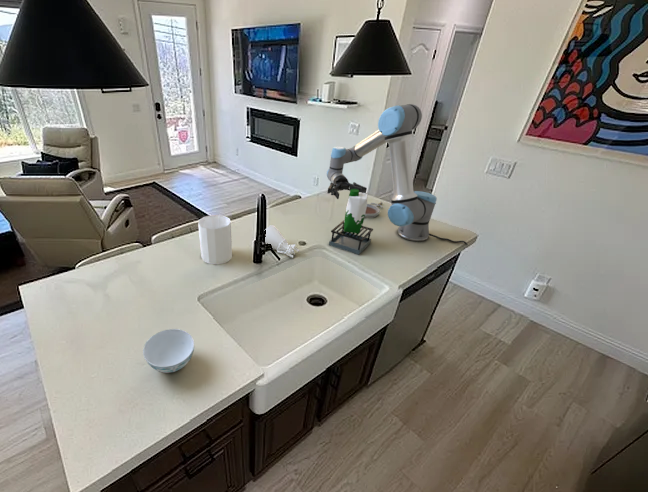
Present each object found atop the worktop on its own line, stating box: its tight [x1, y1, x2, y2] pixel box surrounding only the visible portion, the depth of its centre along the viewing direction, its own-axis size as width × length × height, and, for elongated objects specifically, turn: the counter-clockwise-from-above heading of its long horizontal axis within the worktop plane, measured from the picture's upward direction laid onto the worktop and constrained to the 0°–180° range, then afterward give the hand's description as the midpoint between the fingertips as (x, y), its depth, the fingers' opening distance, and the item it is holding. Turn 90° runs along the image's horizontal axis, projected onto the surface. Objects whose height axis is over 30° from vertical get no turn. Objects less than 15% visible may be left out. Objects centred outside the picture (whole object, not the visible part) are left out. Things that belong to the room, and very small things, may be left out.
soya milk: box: [343, 189, 368, 235], centre depth 156 cm, size 9×9×20 cm
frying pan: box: [364, 201, 383, 219], centre depth 201 cm, size 17×3×28 cm
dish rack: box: [328, 220, 374, 255], centre depth 164 cm, size 16×15×8 cm
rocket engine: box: [265, 224, 301, 259], centre depth 158 cm, size 12×12×18 cm
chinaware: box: [142, 328, 195, 374], centre depth 100 cm, size 15×15×8 cm
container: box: [197, 214, 233, 265], centre depth 151 cm, size 14×14×18 cm
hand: (351, 196), depth 162 cm, fingers open, 13 cm apart
